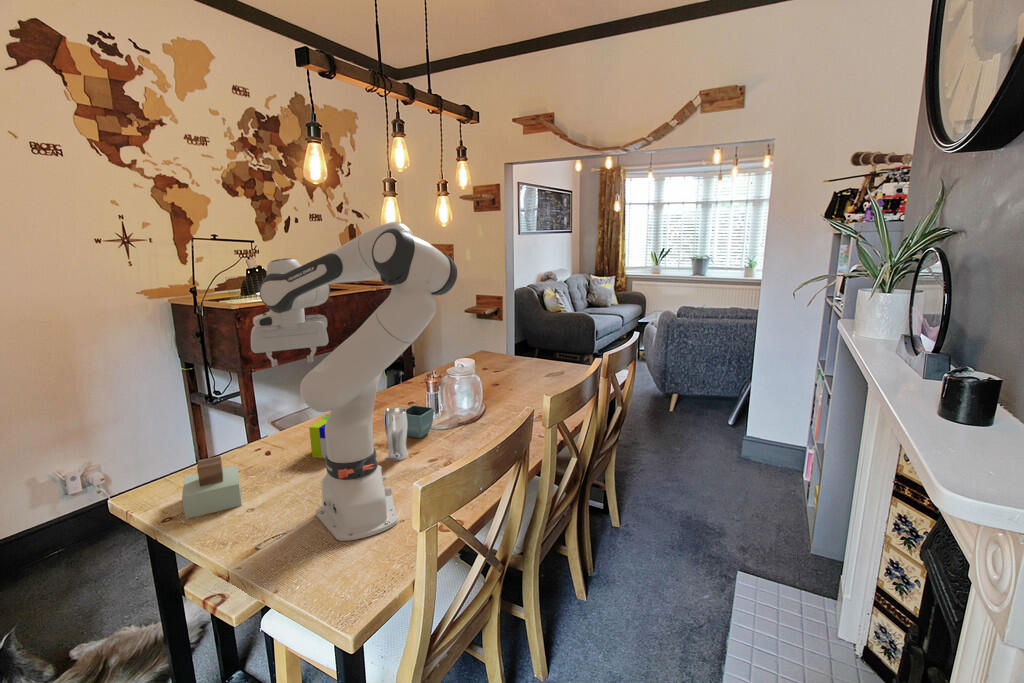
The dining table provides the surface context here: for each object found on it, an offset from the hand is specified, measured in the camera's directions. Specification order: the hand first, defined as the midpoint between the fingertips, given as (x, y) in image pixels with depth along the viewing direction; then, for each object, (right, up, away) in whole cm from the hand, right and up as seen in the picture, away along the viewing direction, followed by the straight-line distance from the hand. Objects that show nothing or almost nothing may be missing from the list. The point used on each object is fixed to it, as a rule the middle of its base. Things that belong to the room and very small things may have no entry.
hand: (292, 364), depth 140 cm
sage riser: (-14, -35, -14) cm, 40 cm away
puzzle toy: (+7, -29, +15) cm, 33 cm away
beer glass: (+28, -29, +11) cm, 42 cm away
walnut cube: (-14, -29, -15) cm, 36 cm away
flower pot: (+31, -26, +27) cm, 49 cm away
